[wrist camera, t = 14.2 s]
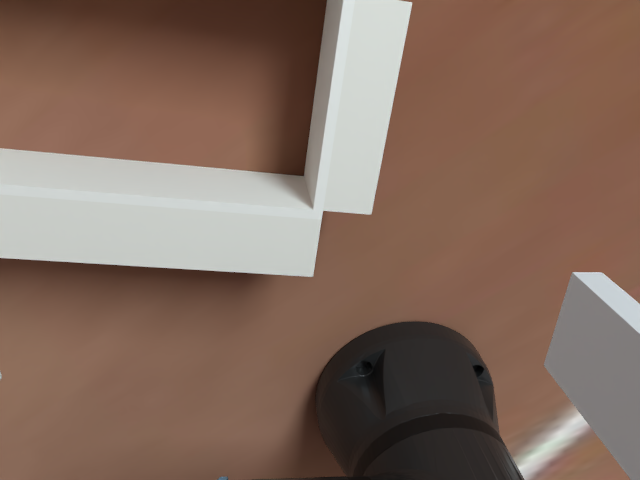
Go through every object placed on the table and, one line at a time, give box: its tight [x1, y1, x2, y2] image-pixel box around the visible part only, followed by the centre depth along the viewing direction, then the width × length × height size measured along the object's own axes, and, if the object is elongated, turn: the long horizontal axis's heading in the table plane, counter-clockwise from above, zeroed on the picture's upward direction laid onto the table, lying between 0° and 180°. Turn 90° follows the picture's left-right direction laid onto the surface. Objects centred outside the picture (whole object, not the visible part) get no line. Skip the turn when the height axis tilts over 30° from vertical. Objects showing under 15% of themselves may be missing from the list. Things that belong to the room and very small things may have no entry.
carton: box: [0, 0, 412, 277], centre depth 31 cm, size 21×29×6 cm
